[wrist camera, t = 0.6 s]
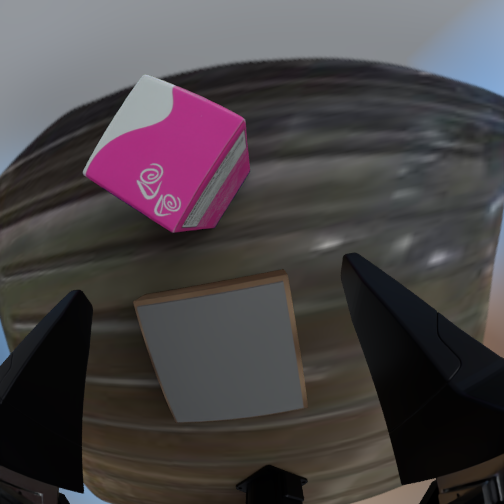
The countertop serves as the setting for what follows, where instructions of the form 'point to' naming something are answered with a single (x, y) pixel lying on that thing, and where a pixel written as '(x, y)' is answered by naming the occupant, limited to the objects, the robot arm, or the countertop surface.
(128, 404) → the countertop surface
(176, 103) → the supplement box
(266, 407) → the walnut base
